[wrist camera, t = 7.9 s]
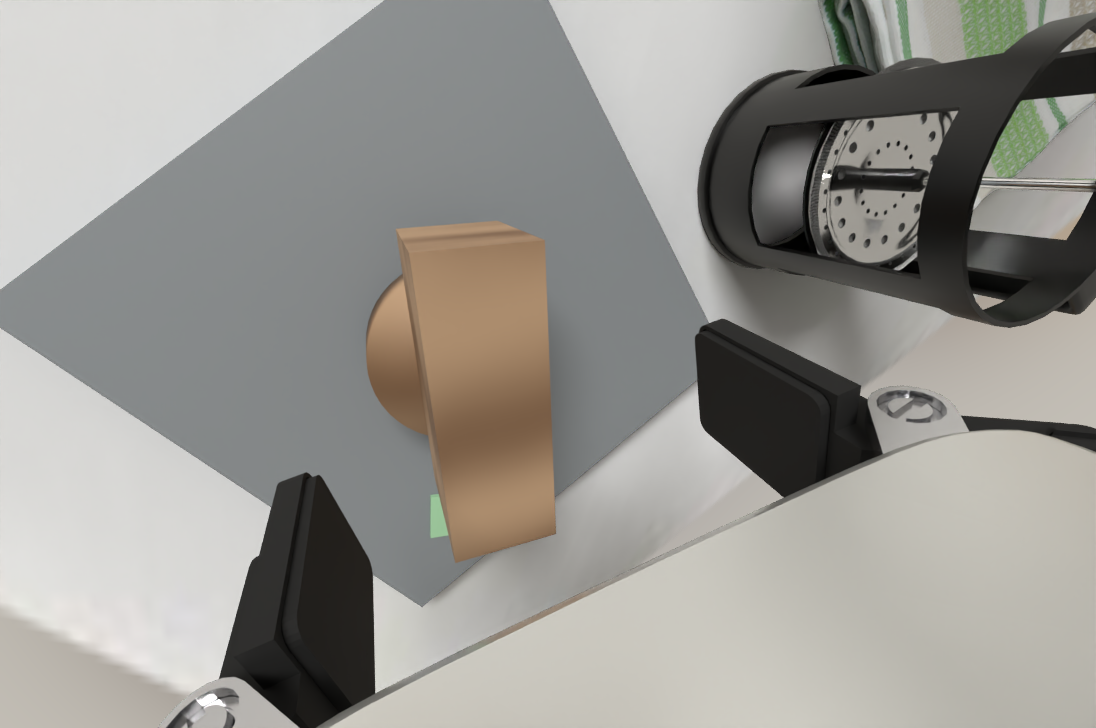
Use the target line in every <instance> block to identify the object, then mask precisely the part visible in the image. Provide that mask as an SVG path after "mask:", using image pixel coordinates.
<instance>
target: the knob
mask: <svg viewBox="0 0 1096 728" xmlns="http://www.w3.org/2000/svg"><path fill="white" fill-rule="evenodd" d="M396 235H397V241H398V247H399V254H400V260H401V266H402V273H403V274H402V275H400V276H399V277H398V278H397V279H395V280H394V281H393V282H392V283H391V284H390V285H389V286H388V287H387V288H386V289H385V290H384V291H383V293H382V294H381V296H380V297H379V299H378V300H377V302H376V304H375V306H374V308H373V310H372V312H371V315H370V318H369V321H368V326H367V332H366V362H367V370H368V376H369V380H370V383H371V386H372V388H373V391H374V393H375V395H376V397H377V398H378V400H379V402H380V403H381V405H382V406H383V407H384V408H385V409H386V411H387V412H388V413H389V414H390V415H391V416H392V417H394V418H395V419H396V420H397V421H398V422H400V423H401V424H403V425H404V426H406V427H408V428H410V429H412V430H414V431H416V432H418V433H421V434H424V435H428V438H429V445H430V451H431V458H432V464H433V470H434V477H435V481H436V485H437V489H438V493H439V497H440V502H441V506H442V510H443V514H444V518H445V522H446V527H447V531H448V535H449V539H450V543H451V548H452V552H453V556H454V560H455V563H458V562H461V561H464V560H468V559H471V558H475V557H478V556H482V555H485V554H488V553H492V552H495V551H499V550H502V549H506V548H509V547H513V546H516V545H519V544H523V543H526V542H530V541H533V540H537V539H540V538H543V537H547V536H550V535H554V534H556V526H555V499H554V472H553V445H552V418H551V391H550V365H549V338H548V311H547V284H546V257H545V240H543V239H541V238H538V237H536V236H534V235H531V234H529V233H526V232H524V231H521V230H519V229H517V228H514V227H512V226H509V225H507V224H504V223H502V222H499V221H488V222H475V223H463V224H450V225H437V226H425V227H412V228H399V229H396Z"/></svg>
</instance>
